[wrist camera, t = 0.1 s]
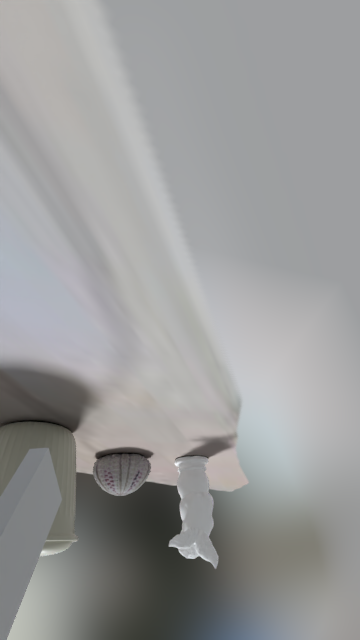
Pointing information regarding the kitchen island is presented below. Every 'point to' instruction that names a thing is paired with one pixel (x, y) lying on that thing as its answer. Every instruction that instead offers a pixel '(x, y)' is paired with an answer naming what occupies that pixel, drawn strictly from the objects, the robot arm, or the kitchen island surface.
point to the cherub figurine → (195, 510)
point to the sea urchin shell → (121, 473)
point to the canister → (14, 443)
